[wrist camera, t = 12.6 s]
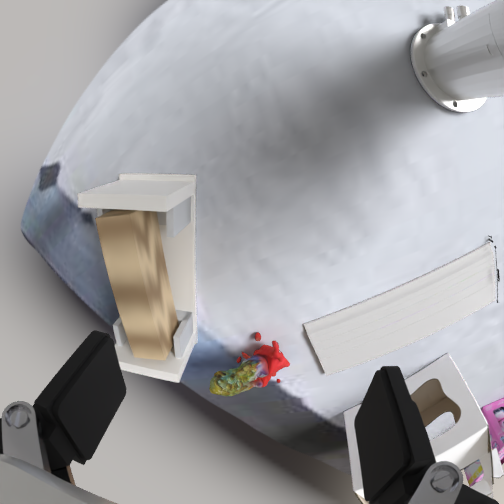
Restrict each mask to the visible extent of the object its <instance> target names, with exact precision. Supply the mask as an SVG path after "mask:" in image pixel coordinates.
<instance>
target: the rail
mask: <svg viewBox="0 0 504 504" xmlns="http://www.w3.org/2000/svg"><path fill="white" fill-rule="evenodd" d="M95 220H96V225H97V230H98V234H99V239H100V243H101V248H102V252H103V256H104V260H105V264H106V268H107V272H108V276H109V280H110V283H111V287H112V291H113V294H114V298H115V301H116V304H117V308H118V311H119V314H120V317H121V320H122V323H123V326H124V329H125V332H126V335H127V338H128V341H129V344H130V347H131V349H132V352H133V355H134V357H136V358H145V359H155V360H166V358H167V356H168V354H169V352H170V350H171V348H172V346H173V344H174V339H173V337H174V335H175V333H176V331H177V329H178V327H179V323H178V319H177V315H176V310H175V306H174V301H173V297H172V292H171V287H170V282H169V277H168V273H167V267H166V262H165V257H164V252H163V246H162V240H161V235H160V229H159V223H158V216H157V211H142V210H123V209H114V210H112V211H110V212H108V213H106V214H103V215H101V216H99V217H97V218H95Z"/></svg>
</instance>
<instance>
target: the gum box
mask: <svg viewBox="0 0 504 504" xmlns="http://www.w3.org/2000/svg"><path fill="white" fill-rule="evenodd" d="M481 411H482V413H483V415H484V417H485V419H486V421H487V423H488V425H489V432H490V439H491V448H492V450H493V449H495V448H497V452H498V455H499V458H500V462H501V465H502V464H503V463H504V398H502V399H500V400H498V401H495V402H493V403H491V404H489V405H486V406H484V407H482V410H481ZM464 471H465V474H466V477H467V480H468V483H469V486H470V487H471V486H473V485H474V484H475V483H476V482H478V481H481V480H482V478H483V475H484V471H483V468H482V466H481V463H480V461H479V460H478V461H476V462H474V463H473V464H471V465H469V466H468V467H466V468H464Z"/></svg>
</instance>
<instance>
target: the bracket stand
mask: <svg viewBox="0 0 504 504" xmlns="http://www.w3.org/2000/svg"><path fill="white" fill-rule="evenodd" d="M77 195H78V208H97V217H99V216H101V215H103V214H106V213H108V212H110V211H112V210H114V209H123V210H142V211H157V216H158V223H159V229H160V235H161V240H162V246H163V252H164V257H165V262H166V267H167V273H168V277H169V282H170V287H171V292H172V297H173V301H174V306H175V310H176V315H177V319H178V323H179V327H178V329H177V331H176V333H175V335H174V337H173V339H174V344H173V346H172V348H171V350H170V352H169V354H168V356H167V358H166V360H155V359H145V358H136V357H134V355H133V352H132V349H131V347H130V344H129V341H128V338H127V335H126V332H125V329H124V326H123V323H122V320H121V317H119V318H118V319H117V320H116V322H115V323H114V324H113V329H114V333H115V338H116V344H115V349H116V353H117V357H118V361H119V365H120V368H121V370H125V371H129V372H133V373H137V374H142V375H146V376H150V377H154V378H159V379H164V380H168V381H174V382H179V381H180V379H181V376H182V374H183V371H184V369H185V366H186V364H187V362H188V359H189V357H190V354H191V352H192V349H193V347H194V345H195V344H197V342H198V335H197V308H196V253H195V230H196V175H188V174H139V173H125V174H119V180H117V181H114V182H111V183H108V184H105V185H102V186H99V187H95V188H92V189H89V190H87V191H84V192H81V193H78V194H77Z"/></svg>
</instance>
